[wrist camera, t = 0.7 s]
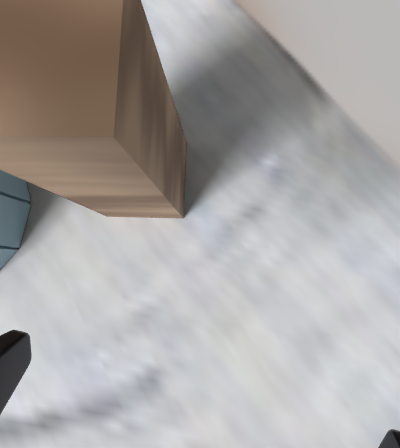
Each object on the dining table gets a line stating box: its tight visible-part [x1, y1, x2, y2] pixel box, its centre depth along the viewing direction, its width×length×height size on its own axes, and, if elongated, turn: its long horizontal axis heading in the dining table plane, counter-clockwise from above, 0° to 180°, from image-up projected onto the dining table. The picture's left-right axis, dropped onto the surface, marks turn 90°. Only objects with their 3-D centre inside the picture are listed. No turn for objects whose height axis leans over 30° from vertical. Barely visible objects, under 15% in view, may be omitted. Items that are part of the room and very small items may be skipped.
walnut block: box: [0, 0, 187, 218], centre depth 16 cm, size 5×5×14 cm
